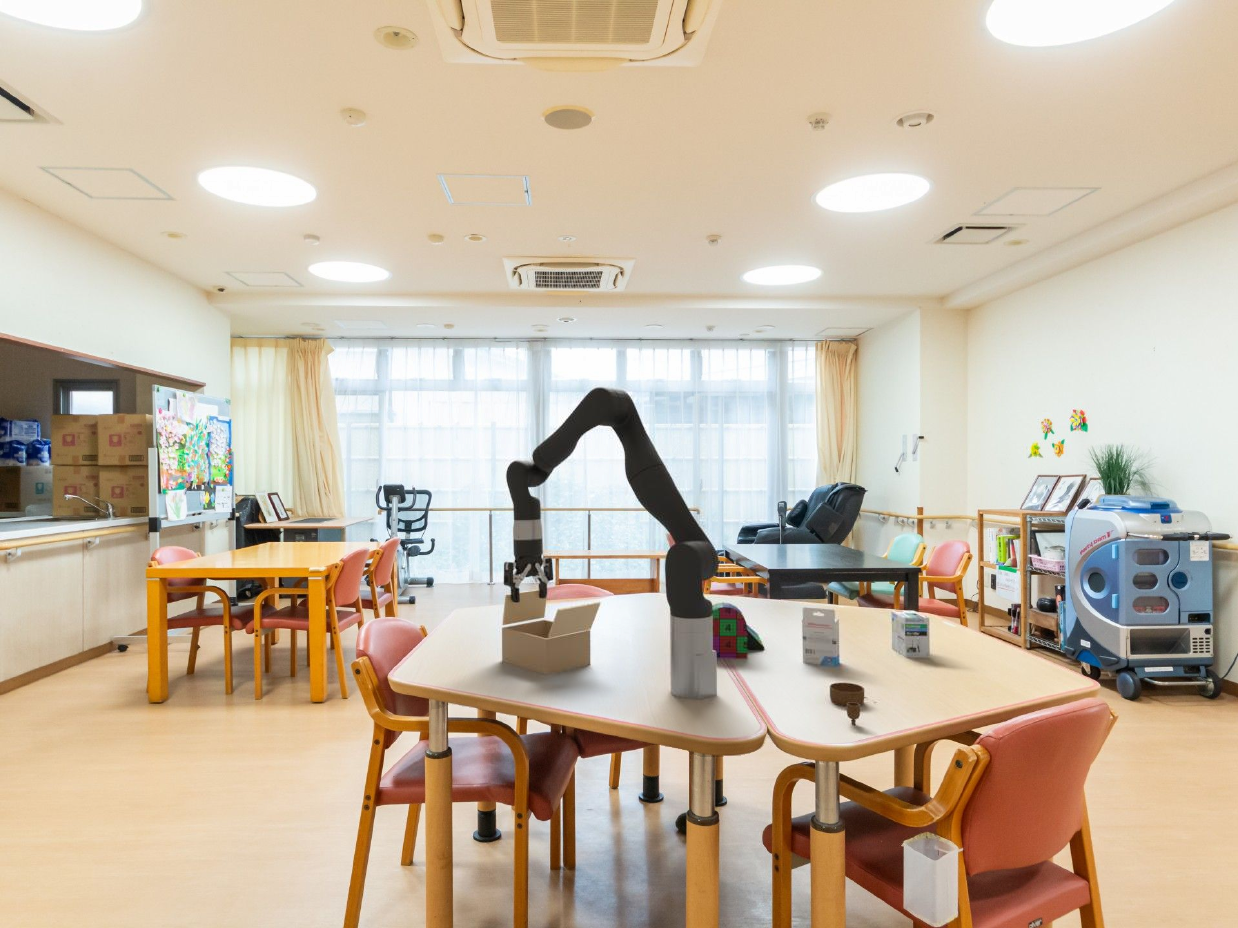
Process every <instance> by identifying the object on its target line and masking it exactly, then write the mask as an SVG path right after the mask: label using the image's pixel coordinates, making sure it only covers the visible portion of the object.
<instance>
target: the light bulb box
mask: <svg viewBox="0 0 1238 928" xmlns="http://www.w3.org/2000/svg"><path fill="white" fill-rule="evenodd" d="M890 612H891V649H892V650H893V651H895V652H897V653H898V654H900V655H901V656H902V657H904V658H905V659H907V658H908V659H909V658H910V659H911V658H912V659H917V658H918V659H929V658H931V657H930V656H931V654H930V652H931V651H930V650H931V649H930V618H929V617H928V616H926V615H923V614H921V613H920V612H917V611H916V610H901V609H900V610H897V609H892V610H891V611H890Z"/></svg>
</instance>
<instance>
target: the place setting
mask: <svg viewBox="0 0 1238 928" xmlns="http://www.w3.org/2000/svg"><path fill="white" fill-rule="evenodd" d="M829 694H830V695H829V698H830V701H831V702H832V703H833V704H834V703H835V705H837V704H838V705H837V706H841V705H843V707H846V715H847V718H849V719H850V720H851V724H852V725H851V724H850V725H851V726H856V724H857V723H856V721H857V720H858V719H859V718H860V716H861V706H862V705H863V704H864V702H865V699H866V698H867V696H865V688H864V687H863V686H862V685H860V684H856V683H852V682H851V683H850V682H835V683H832V684H830V685H829ZM875 703H877V702H876V701H875ZM875 703H874V704H875Z"/></svg>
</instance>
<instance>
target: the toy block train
mask: <svg viewBox="0 0 1238 928" xmlns="http://www.w3.org/2000/svg"><path fill="white" fill-rule="evenodd" d="M712 606H713V650H715V651H716V652H717V658H719V659H720V658H723V659H724V658H725V659H732V658H733V659H748V653H749V652H748V651H764V650H765V645H764V644H763V642H762V640H761V638H760V636H759V634H758V632H756V631H755V630H754V629H752V628H751V627H750V626H749V624H747V621H746V619H745V616H744V615H743V613H742V611H741V610H740V609H739V608H738V606H736V605H734V604H731V603H730V602H717V603H714V604H712Z"/></svg>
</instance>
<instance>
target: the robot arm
mask: <svg viewBox="0 0 1238 928" xmlns="http://www.w3.org/2000/svg"><path fill="white" fill-rule="evenodd" d="M598 426H602V427H611V429H612V430H613V431H614V433H615V435H616V436H617V438H618V440H619V441H620V443H621V446H622V448H623V453H624V470H625V477H626V479H627V481H628V484H629V485H630V487H631V490H632V491H633V493H634V495H635V498H636V499H637V501H638V502H639V504H640V505H641V506H642V507H643V508H644V509H645V510H646V511H647V512H648V513H649V514H650V515H651V516H652V517H653V518H654V519H656V521H658V522H659V523H660V524H661V525H662V527H664V528H665V530H666V531H667V532H668V533H669V535H670V536H671V538H672V540H673V542H674V544H673V545H671V546H670V547H669V549H668V551H667V553H666V556H665V559H664V560H665V561H664V578H665V579H664V580H665V595H666V596H665V597H666V602H667V603H668V606H669V621H670V622H669V625H670V627H669V629H670V630H669V637H670V638H669V639H670V640H669V641H670V643H669V649H670V652H669V655H670V658H669V659H670V660H669V661H670V663H669V665H670V668H669V669H670V670H669V671H670V672H669V673H670V674H669V675H670V694H671V695H673V696H674V697H677V698H681V699H686V700H687V699H689V700H697V701H701V700H704V699H707V698H710V697H714V696H717V694H718V690H717V689H718V679H717V678H718V675H717V674H718V671H717V667H718V666H717V665H718V664H717V663H718V659H717V652H716V651H715V650H713V602H712V601H711V600H710V599H708V598H706V597H705V596H704V591H703V589H704V588H703V582H705V581H708V580H711V579H712V578H713V577H715V576H716V574H717V573H718V572H719V571H718V570H719V565H720V560H719V556H718V552H717V550H716V548H715V546H714V545H713V543H712V541H710V539H709V537H708V536H707V535H706V533H705V532H704V531H703V529H702V527H701V526H700V524H699V523H698V522H697V520H696V519H695V516H694V515H693V513H692V512H691V510H690V509H689V507H688V505H687V503H686V501H685V499H684V498H683V495H682V494H681V493H680V491H679V489H678V487H677V486H676V484H675V481H674V479H673V478H672V476H671V474H670V472H669V470H668V469H667V467H666V465H665V463H664V462H663V460H662V458H661V457H660V455H659V453H658V451H657V449H656V447H655V445H654V444H653V442H652V440H651V438H650V436H649V435H648V433H647V431H646V429H645V427H644V424H643V422H642V419H641V417H640V414H639V412H638V410H637V407H636V404H635V403H634V400H633V398H632V397H631V396H630V394H629V393H628V392H626V391H625V390H624V389H621V388H616V387H609V386H597V387H594V388H593V389H591V390H590V391H589V392H588V393H587V394H586V395H585V396H584V397H583V399H581V401H580V402H579V404H578V405H577V406H576V407H575V409H573V411H572V412H571V413H570V415H569V416H568V417H567V418H566V419H565V420H564V422H563V423H561V425H559V427H558V428H557V429H556V430H555V431H553V433H551V435H550V436H548V437H547V438H546V439H545V440H543V441H542V442H541V443H540V444H539V445H537V446H536V448H534V450H533V452H532V454H531V455H532V456H531V458H532V460H521V459H520V460H519V459H518V460H514V461H512V462H510V463H509V465H508V466H507V469H506V474H505V478H506V485H507V488H508V491H509V495H510V498H511V501H512V506H513V525H512V535H513V536H512V539H513V540H512V541H513V542H512V545H513V547H512V548H513V556H514V561H505V562H504V563H503V585H504V586H506V587H509V588H510V594H511V600H512V601H513V602H515V603H518V602H520V593H519V592H520V585H521V584H522V581H524V580H525V578H529V577H530V578H531V577H534V578H536V580H537V582H539V583H538V589H539V598H546V596H548V590H547V589H548V583H549V582H550V581H553V580H554V568H553V567H554V566H553V559H552V557H542V555H543V553H544V546H543V544H544V543H543V525H542V517H541V516H542V513H541V512H542V511H541V509H542V508H541V507H542V506H541V505H542V504H541V500H540V498H538V497H536V496H532V495H531V492H530V489H529V488H537V487H539V486H541V485H543V484H544V483H545V482H546V481H547V480H548V479H549V477H550V476H551V474H552V473H553V471H554V470H555V468H557V467H558V466H560V465H561V464H562V463H563V462H564V461H565V460H567V459H568V458H569V457H570V456H571V455H572V454H573V452H574V451H575V449H576V447H577V446H578V443H579V440H580V439H581V438H582V437H583V436H584V435H585V434H586V433H588V432H589V431H591V430H593V429H595V428H596V427H598ZM542 567H543V569H542Z"/></svg>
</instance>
